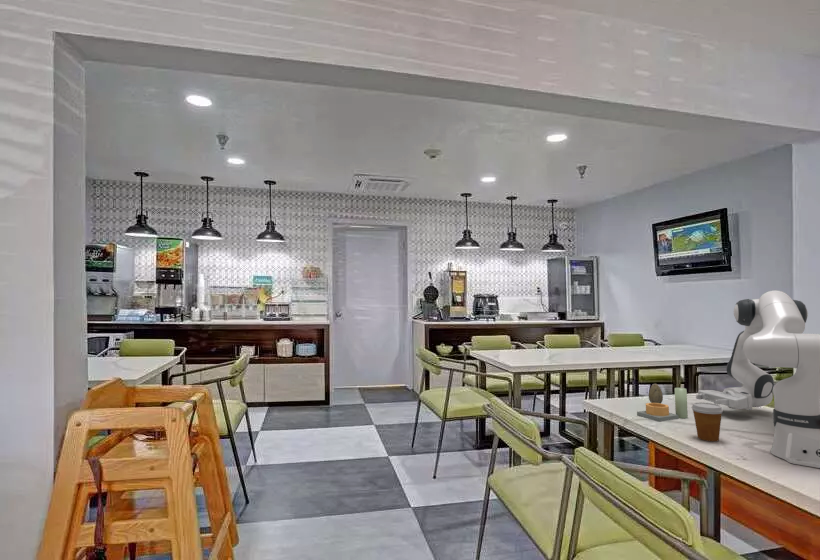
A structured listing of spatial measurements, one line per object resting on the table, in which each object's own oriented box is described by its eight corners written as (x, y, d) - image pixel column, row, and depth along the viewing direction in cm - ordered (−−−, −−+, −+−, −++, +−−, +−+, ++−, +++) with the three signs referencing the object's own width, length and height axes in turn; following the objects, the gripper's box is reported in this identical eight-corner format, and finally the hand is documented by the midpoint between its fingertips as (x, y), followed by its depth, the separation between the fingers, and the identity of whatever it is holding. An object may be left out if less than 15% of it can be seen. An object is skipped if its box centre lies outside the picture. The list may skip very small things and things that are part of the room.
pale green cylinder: (689, 417, 189) (688, 388, 190) (685, 419, 186) (684, 390, 187) (677, 415, 192) (676, 387, 193) (674, 417, 190) (672, 388, 190)
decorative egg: (646, 404, 213) (645, 383, 213) (654, 402, 215) (653, 382, 216) (657, 406, 207) (656, 385, 208) (666, 405, 210) (665, 384, 210)
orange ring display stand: (678, 418, 187) (678, 406, 187) (659, 421, 183) (658, 409, 183) (656, 412, 197) (655, 401, 197) (637, 415, 193) (636, 403, 194)
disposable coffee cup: (697, 441, 157) (696, 407, 158) (689, 433, 166) (687, 401, 167) (728, 444, 154) (727, 409, 155) (718, 435, 163) (717, 402, 164)
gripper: (713, 386, 204) (687, 387, 202) (754, 395, 184) (725, 397, 182) (714, 399, 204) (687, 401, 202) (755, 410, 184) (726, 412, 181)
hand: (705, 399), depth 192 cm, fingers open, 8 cm apart
